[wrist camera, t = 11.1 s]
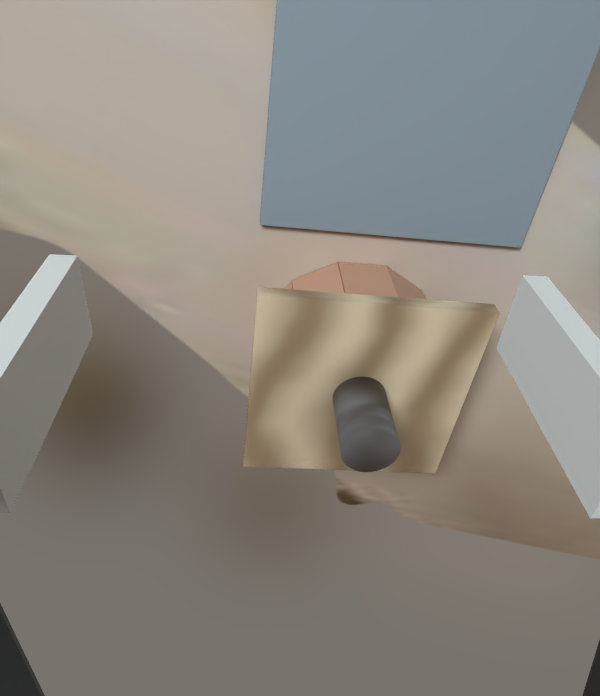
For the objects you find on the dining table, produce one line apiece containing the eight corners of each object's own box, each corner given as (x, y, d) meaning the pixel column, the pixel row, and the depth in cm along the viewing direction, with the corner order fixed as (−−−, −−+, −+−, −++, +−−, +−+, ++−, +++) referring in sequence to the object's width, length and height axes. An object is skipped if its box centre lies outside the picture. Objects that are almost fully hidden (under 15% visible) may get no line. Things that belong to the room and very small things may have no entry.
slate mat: (646, -85, 33) (652, -86, 32) (517, 244, 46) (520, 247, 45) (288, -145, 30) (288, -147, 30) (259, 221, 43) (259, 224, 43)
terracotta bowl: (451, 271, 47) (477, 314, 41) (408, 405, 56) (424, 456, 51) (269, 256, 45) (269, 300, 39) (256, 397, 54) (255, 449, 49)
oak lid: (494, 304, 41) (532, 363, 35) (432, 463, 51) (453, 528, 46) (257, 286, 39) (256, 346, 33) (243, 456, 49) (241, 523, 43)
